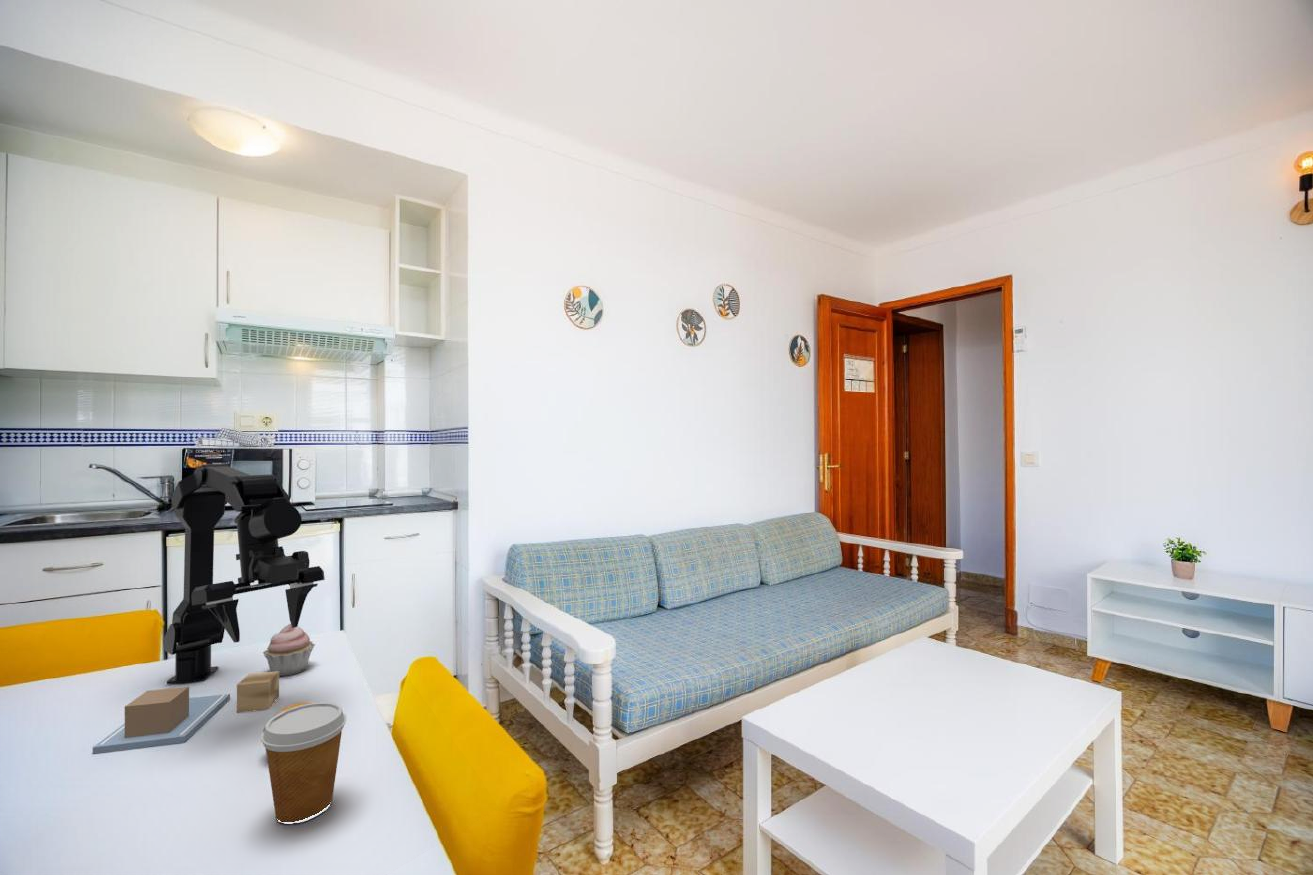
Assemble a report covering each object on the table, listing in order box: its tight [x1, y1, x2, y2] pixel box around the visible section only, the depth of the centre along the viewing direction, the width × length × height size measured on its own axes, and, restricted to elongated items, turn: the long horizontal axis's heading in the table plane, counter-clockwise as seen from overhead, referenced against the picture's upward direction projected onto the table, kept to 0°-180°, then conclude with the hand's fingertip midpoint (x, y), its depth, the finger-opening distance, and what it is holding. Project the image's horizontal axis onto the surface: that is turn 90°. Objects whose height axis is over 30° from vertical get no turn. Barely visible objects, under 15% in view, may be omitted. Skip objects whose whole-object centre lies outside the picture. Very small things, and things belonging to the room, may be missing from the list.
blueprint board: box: [92, 686, 231, 755], centre depth 96 cm, size 16×12×6 cm
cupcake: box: [262, 623, 316, 677], centre depth 119 cm, size 9×9×10 cm
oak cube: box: [236, 671, 280, 713], centre depth 103 cm, size 5×5×5 cm
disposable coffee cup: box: [260, 702, 347, 822], centre depth 74 cm, size 10×10×12 cm
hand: (267, 634), depth 97 cm, fingers open, 9 cm apart
